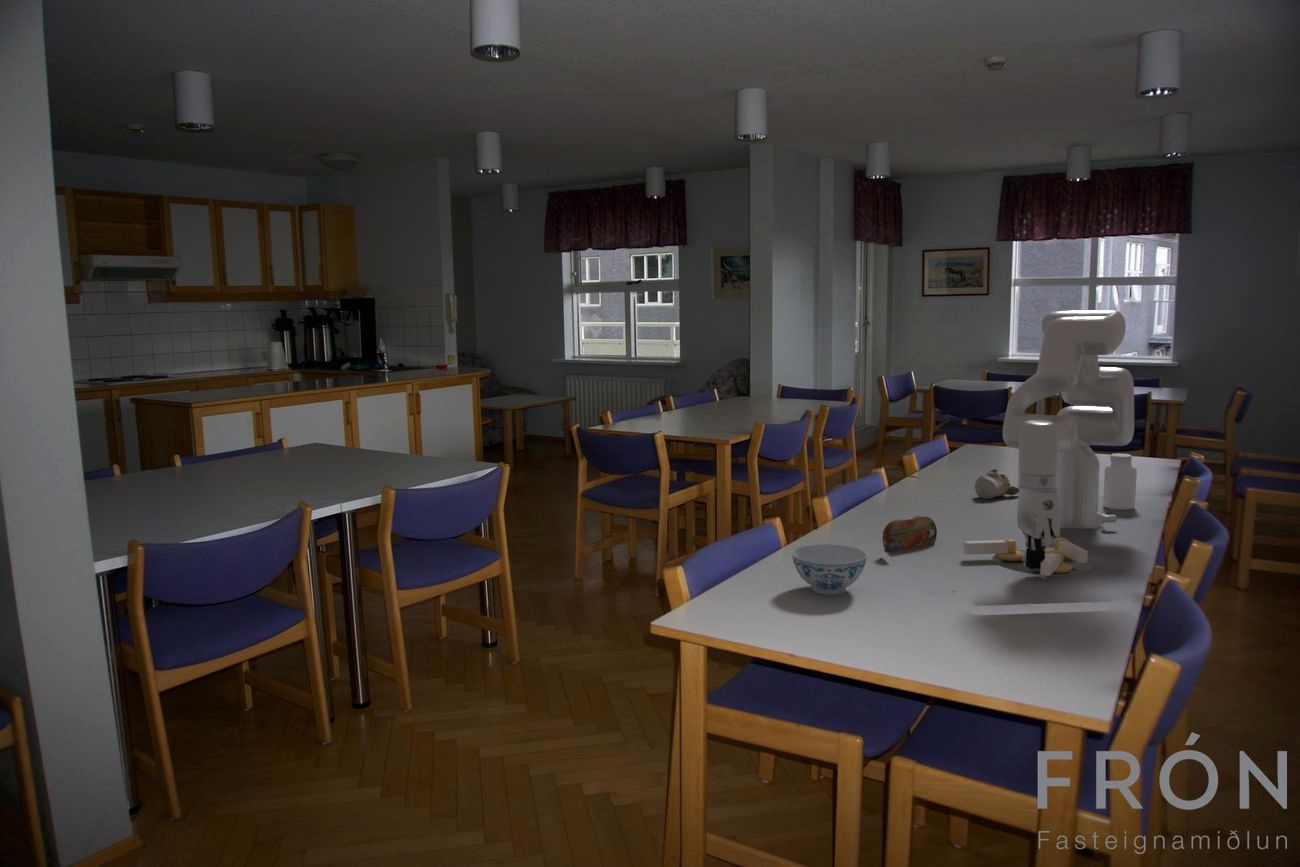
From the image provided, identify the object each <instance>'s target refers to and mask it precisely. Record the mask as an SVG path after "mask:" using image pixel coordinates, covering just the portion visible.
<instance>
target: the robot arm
mask: <svg viewBox="0 0 1300 867" xmlns="http://www.w3.org/2000/svg"><path fill="white" fill-rule="evenodd" d="M1125 320H1126V319H1125V317H1124V315H1123V313H1122V312H1121V311H1118V310H1111V309H1110V310H1109V309H1108V310H1107V309H1106V310H1099V309H1098V310H1057V311H1050V312H1048V313H1046V314H1045V315H1044V316H1043V317H1042V321H1041V330H1042V333H1043V338H1042V343H1041V348H1040V353H1039V357H1038V364H1037V368H1036V373H1035V374H1033V375H1031V376H1030V377H1028V378H1027V379H1026V380H1025V381H1024V382H1022V383H1021V385H1020V386H1018V388H1017V389H1016V390H1015V391H1014V392H1013V393H1012V394H1011V396H1010V398H1009V400H1008V402H1007V407H1006V412H1005V415H1004V420H1003V425H1002V438H1003V442H1004V443H1005V445H1006V446H1007V447H1009V448H1011V449H1015V450H1016V449H1018V466H1017V468H1018V471H1017V472H1018V473H1017V474H1018V475H1017V488H1020V489H1019V493H1018V497H1017V498H1018V499H1017V512H1016V514H1017V515H1016V524H1017V527H1018V528H1019V530H1021V532H1022V534H1023V535H1024V538H1025V540H1024V541H1025V547H1026V549H1025V550H1026V566H1027V567H1028V568H1030V569H1041V562H1042V561H1043V560H1044V559H1045V550H1046V549H1047V548H1048V547H1051V546H1052V539H1054V538H1058V537H1060V533H1061V529H1078V530H1083V529H1085V530H1087V529H1091V530H1094V531H1096V532H1099V533H1104V531H1105V528H1104V526H1103V525H1104V524H1105V523H1110V524H1111V523H1117V520H1118V518H1117V516H1116V514H1107V515H1106V514H1105V513H1102V512H1099V511H1098V509H1099V487H1100V483H1099V482H1100V468H1101V466H1100V465H1101V463H1100V460H1099V457H1098V456H1097V454H1096V453H1095V451H1093V449H1092V448H1091V447H1090V446H1111V447H1118V446H1119V447H1122V446H1123V447H1124V446H1127V445H1128V444H1130V443H1131V441H1132V439H1133V437H1134V433H1135V389H1134V386H1135V384H1134V378H1133V375H1132V373H1131V372H1130V371H1129V370H1128V369H1127V368H1123V367H1116V366H1115V367H1114V366H1112V367H1111V366H1100V365H1099V356H1109V355H1111V354H1113V353H1115V351H1116V350H1117V349H1118V348H1119V347H1120V346H1121V344H1122V343H1123V341H1124V338H1125V335H1126V328H1127V326H1126V321H1125ZM1059 394H1061V397H1062V400H1063V402H1064V403H1067V404H1068V405H1070V406H1066V407H1065V406H1064V407H1063V408H1062V409H1060V410H1059V411H1058V412H1057V414H1056V415H1052V414H1051V415H1050V414H1039V413H1038V414H1033V413H1024V412H1025V410H1026V409H1027V408H1029V407H1030V406H1031V405H1033V404H1034V403H1035V404H1036V403H1037V402H1039V401H1041V400H1044V399H1047V398H1051V397H1054V396H1056V395H1059ZM1051 538H1052V539H1051Z"/></svg>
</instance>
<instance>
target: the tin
mask: <svg viewBox="0 0 1300 867" xmlns="http://www.w3.org/2000/svg"><path fill="white" fill-rule="evenodd" d="M937 534H938V530H937V525H936V523H935V522H934V520H933V519H932V518H930V517H929V516H922V515H917V516H911V517H905V518H900V519H894V520H891V521H889V523H887V525H885V527H884V529H883V532H882V545H883V548H884V550H886V551H889V552H892V553H893V552H896V551H901V550H906V549H911V548H916V547H922V546H926V545H934V544H936V540H937V537H938V536H937Z"/></svg>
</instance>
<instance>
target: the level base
mask: <svg viewBox="0 0 1300 867" xmlns="http://www.w3.org/2000/svg"><path fill="white" fill-rule="evenodd" d="M1017 550H1018V551H1021V552H1023V553H1024V554H1025V555H1024V560H1020V561H1007V560H1001V559H998V558H996V557H995V554H994V555H993V556H992V560H993V562H994V564H996V565H998V566H1000V567H1002V568H1005V569H1009V570H1012V571H1014V572H1015V571H1016V572H1021V573H1024V574H1025V573H1026V574H1032V575H1040V571H1041V569H1030V568H1028V567H1027V566H1026V549H1017ZM1048 555H1049V554H1045V558H1046V557H1047V556H1048ZM1063 562H1067V563H1069V564H1071V565H1072V571H1071V572H1068V573H1052V574H1051V575H1050V576H1073V575H1075V576H1076V575H1080V574H1081V575H1082V574H1085V573H1087V572H1090V571H1092V569H1093V564H1092V563H1091V562H1090V561H1089V560H1087V563H1078V562H1076V561H1074V560H1072V559H1063Z"/></svg>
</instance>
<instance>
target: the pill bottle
mask: <svg viewBox="0 0 1300 867" xmlns="http://www.w3.org/2000/svg"><path fill="white" fill-rule="evenodd" d="M1109 457H1110V459H1109V460H1110V463H1107V464H1106V466H1105V467H1104V479H1103V482H1104V483H1103V496H1102V497H1103V500H1102V505H1103V507H1104V508H1107V509H1111V510H1116V511H1117V510H1118V511H1129V510H1134V509H1135V507H1136V506H1135V505H1136V495H1137V494H1136V492H1137V476H1138V475H1137V474H1138V470H1137V466H1135V465H1134V464H1132V463H1133V462H1132V460H1133V455H1132V454H1129V453H1118V452H1117V453H1112V454H1110V456H1109Z"/></svg>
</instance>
